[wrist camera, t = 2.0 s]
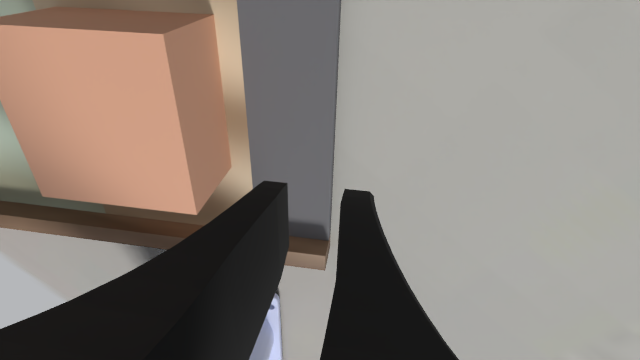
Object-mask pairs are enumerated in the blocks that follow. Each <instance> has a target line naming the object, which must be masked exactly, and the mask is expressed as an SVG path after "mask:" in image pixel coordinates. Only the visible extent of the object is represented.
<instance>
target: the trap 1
mask: <svg viewBox="0 0 640 360" xmlns="http://www.w3.org/2000/svg"><path fill="white" fill-rule="evenodd" d="M237 11H238V22H239V34H240V46H241V57H242V69H243V80H244V92H245V104H246V115H247V127H248V138H249V150H250V162H251V173H252V185H253V189H254V188H255V187H256V186H257V185H259V184H260V183H261V182H263V181H273V182H283V183H288V218H289V236H294V237H302V238H310V239H318V240H326V241H329V238H330V230H331V208H332V187H333V165H334V143H335V122H336V100H337V78H338V57H339V35H340V13H341V0H237Z"/></svg>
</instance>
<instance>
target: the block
mask: <svg viewBox="0 0 640 360" xmlns="http://www.w3.org/2000/svg"><path fill="white" fill-rule="evenodd" d="M0 101H1V103H2V105H3V108H4V110H5V112H6V115H7V117H8V119H9V121H10V124H11V126H12V128H13V130H14V133H15V135H16V137H17V139H18V142H19V144H20V146H21V149H22V151H23V153H24V155H25V158H26V160H27V162H28V164H29V167H30V169H31V171H32V173H33V176H34V178H35V180H36V183H37V185H38V187H39V189H40V192H41V194H42V196H43V197H50V198H59V199H67V200H75V201H84V202H92V203H101V204H109V205H117V206H126V207H134V208H142V209H151V210H159V211H167V212H176V213H184V214H193V215H197V214H198V213H199V211H200V210H201V209H202V207H203V206H204V204H205V203H206V202H207V200H208V199H209V198H210V196H211V195H212V193H213V192H214V191H215V189H216V188H217V186H218V185H219V184H220V182H221V181H222V180H223V178H224V177H225V175H226V174H227V173H228V171H229V170H230V169H231V167H232V165H231V157H230V148H229V140H228V131H227V123H226V114H225V106H224V97H223V89H222V80H221V72H220V63H219V55H218V46H217V37H216V29H215V20H214V15H213V14H194V13H174V12H154V11H134V10H114V9H94V8H74V7H50V8H45V9H39V10H34V11H28V12H23V13H17V14H12V15H6V16H1V17H0Z"/></svg>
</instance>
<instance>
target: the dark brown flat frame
mask: <svg viewBox="0 0 640 360" xmlns="http://www.w3.org/2000/svg"><path fill="white" fill-rule="evenodd" d="M50 7H74V8H94V9H114V10H134V11H154V12H174V13H194V14H213V15H214V20H215V29H216V37H217V46H218V55H219V63H220V72H221V80H222V89H223V97H224V106H225V114H226V123H227V131H228V140H229V148H230V157H231V165H232V167H231V169H230V170H229V171H228V173H227V174H226V175H225V177H224V178H223V180H222V181H221V182H220V184H219V185H218V186H217V188H216V189H215V191H214V192H213V193H212V195H211V196H210V198H209V199H208V200H207V202H206V203H205V204H204V206H203V207H202V209H201V210H200V211H199V213H198V214H197V215H193V214H184V213H176V212H167V211H159V210H151V209H142V208H134V207H126V206H117V205H109V204H101V203H92V202H84V201H75V200H67V199H59V198H50V197H43V196H42V194H41V192H40V189H39V187H38V185H37V183H36V180H35V178H34V176H33V173H32V171H31V169H30V167H29V164H28V162H27V160H26V158H25V155H24V153H23V151H22V149H21V146H20V144H19V142H18V139H17V137H16V135H15V133H14V130H13V128H12V126H11V124H10V121H9V119H8V117H7V115H6V112H5V110H4V108H3V105H2V103H1V101H0V227H1V228H9V229H16V230H24V231H31V232H39V233H46V234H54V235H62V236H69V237H77V238H84V239H92V240H99V241H107V242H114V243H122V244H129V245H137V246H144V247H152V248H159V249H167V250H168V249H170V248H172V247H173V246H175V245H176V244H178V243H179V242H181V241H182V240H184V239H185V238H187V237H188V236H190V235H191V234H193V233H194V232H196V231H197V230H199V229H200V228H202V227H203V226H205V225H206V224H208V223H209V222H210V221H212V220H213V219H214V218H216V217H217V216H218V215H220V214H221V213H222V212H224V211H225V210H226V209H228V208H229V207H230V206H232V205H233V204H234V203H236V202H237V201H238V200H239V199H241V198H242V197H243V196H245V195H246V194H247V193H248V192H250V191H251V190H252V189H253V185H252V173H251V162H250V150H249V138H248V127H247V115H246V104H245V92H244V80H243V69H242V57H241V46H240V34H239V22H238V11H237V0H0V17H1V16H6V15H12V14H17V13H23V12H28V11H34V10H39V9H45V8H50ZM329 248H330V238H329V241H326V240H318V239H310V238H302V237H294V236H289V248H288V252H287V256H286V260H285V264H284V265H288V266H295V267H303V268H310V269H318V270H325V268H326V263H327V258H328V253H329Z"/></svg>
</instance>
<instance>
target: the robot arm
mask: <svg viewBox="0 0 640 360" xmlns="http://www.w3.org/2000/svg"><path fill="white" fill-rule="evenodd" d="M288 248H289V218H288V183H283V182H273V181H263V182H261V183H260V184H259V185H257V186H256V187H255V188H254V189H252V190H251V191H250V192H248V193H247V194H246V195H245V196H243V197H242V198H241V199H239V200H238V201H237V202H236V203H234V204H233V205H232V206H230V207H229V208H228V209H226V210H225V211H224V212H222V213H221V214H220V215H218V216H217V217H216V218H214V219H213V220H212V221H210V222H209V223H208V224H206V225H205V226H203V227H202V228H200V229H199V230H197V231H196V232H194V233H193V234H191V235H190V236H188V237H187V238H185V239H184V240H182V241H181V242H179V243H178V244H176V245H175V246H173V247H172V248H170V249H168V250H167V251H165V252H163V253H162V254H160V255H158V256H157V257H155V258H153V259H152V260H150V261H148V262H146V263H144V264H143V265H141V266H139V267H137V268H135V269H134V270H132V271H130V272H128V273H126V274H124V275H122V276H120V277H118V278H116V279H114V280H112V281H110V282H108V283H106V284H104V285H102V286H99V287H97V288H95V289H93V290H91V291H89V292H87V293H85V294H83V295H81V296H79V297H77V298H74V299H72V300H70V301H68V302H66V303H63V304H61V305H59V306H56V307H54V308H51V309H49V310H47V311H45V312H42V313H40V314H38V315H35V316H32V317H30V318H27V319H25V320H22V321H20V322H17V323H15V324H12V325H10V326H7V327H5V328H2V329H0V360H283V358H282V338H281V319H280V299H279V296H278V295H277V294H276V293H275V292H276V290H277V287H278V285H279V282H280V279H281V276H282V272H283V268H284V264H285V260H286V256H287V252H288ZM320 360H459V359H458V358H457V357H456V355H455V354H454V353H453V352H452V350H451V349H450V348H449V346H448V345H447V344H446V342H445V341H444V340H443V338H442V337H441V335H440V334H439V332H438V331H437V329H436V328H435V326H434V325H433V323H432V322H431V321H430V319H429V318H428V316H427V314H426V313H425V311H424V310H423V308H422V306H421V305H420V303H419V302H418V300H417V298H416V297H415V295H414V293H413V292H412V290H411V288H410V286H409V285H408V283H407V281H406V279H405V277H404V275H403V273H402V271H401V270H400V268H399V266H398V264H397V262H396V260H395V258H394V255H393V253H392V251H391V249H390V246H389V244H388V242H387V239H386V237H385V235H384V232H383V230H382V227H381V224H380V221H379V218H378V215H377V211H376V208H375V203H374V196H373V195H372V194H371V193H370V192H368V191H359V190H349V189H345V190H344V194H343V197H342V201H341V207H340V224H339V240H338V256H337V272H336V283H335V288H334V294H333V299H332V304H331V309H330V314H329V319H328V324H327V329H326V334H325V339H324V343H323V348H322V353H321V357H320Z"/></svg>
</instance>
